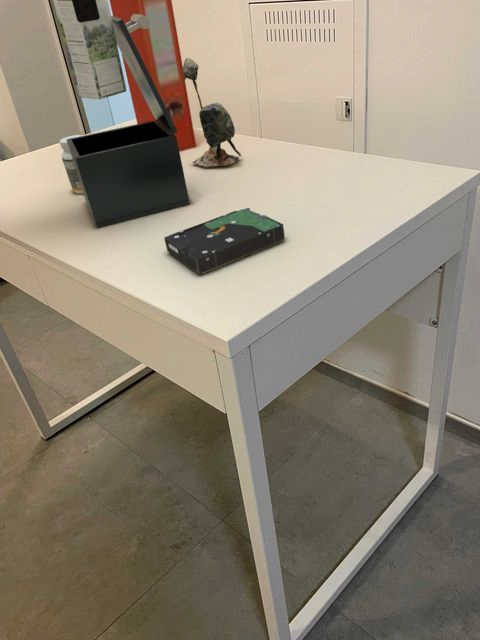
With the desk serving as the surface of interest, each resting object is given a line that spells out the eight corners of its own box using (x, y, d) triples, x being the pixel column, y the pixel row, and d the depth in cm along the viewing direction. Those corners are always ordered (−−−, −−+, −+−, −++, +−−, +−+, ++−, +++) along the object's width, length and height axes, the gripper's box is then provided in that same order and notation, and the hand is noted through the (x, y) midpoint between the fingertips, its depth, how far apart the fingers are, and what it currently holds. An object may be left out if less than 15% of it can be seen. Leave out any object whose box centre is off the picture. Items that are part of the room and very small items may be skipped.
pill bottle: (87, 182, 113) (72, 133, 107) (107, 185, 111) (93, 134, 105) (67, 193, 109) (50, 142, 104) (87, 195, 107) (71, 143, 101)
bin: (97, 228, 93) (75, 158, 86) (86, 203, 103) (66, 139, 96) (190, 204, 97) (176, 135, 90) (170, 182, 107) (157, 119, 100)
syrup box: (106, 89, 92) (81, -14, 83) (128, 92, 88) (105, -16, 80) (77, 97, 88) (48, -9, 80) (100, 100, 85) (72, -11, 76)
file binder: (171, 132, 138) (140, -20, 119) (197, 146, 126) (167, -21, 107) (140, 139, 136) (104, -15, 117) (164, 154, 123) (128, -15, 104)
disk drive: (200, 278, 75) (286, 240, 81) (196, 259, 73) (284, 222, 79) (166, 254, 82) (247, 221, 88) (162, 237, 80) (245, 204, 86)
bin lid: (117, 21, 79) (147, 4, 79) (102, 16, 89) (129, 2, 89) (173, 134, 90) (199, 119, 90) (154, 118, 100) (178, 105, 101)
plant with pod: (221, 174, 108) (203, 62, 96) (188, 164, 115) (168, 59, 103) (252, 162, 112) (238, 53, 100) (218, 153, 119) (202, 50, 107)
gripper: (13, -124, 77) (55, 20, 88) (17, -146, 64) (66, 27, 74) (66, -130, 79) (101, 13, 90) (81, -152, 66) (120, 18, 76)
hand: (85, 18), depth 82 cm, fingers closed on syrup box, 7 cm apart
